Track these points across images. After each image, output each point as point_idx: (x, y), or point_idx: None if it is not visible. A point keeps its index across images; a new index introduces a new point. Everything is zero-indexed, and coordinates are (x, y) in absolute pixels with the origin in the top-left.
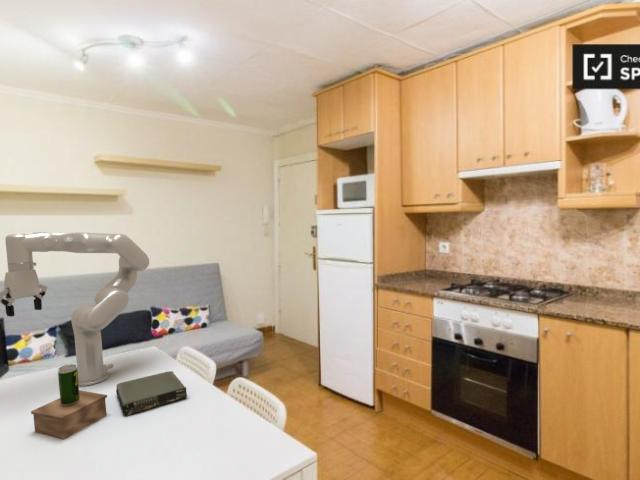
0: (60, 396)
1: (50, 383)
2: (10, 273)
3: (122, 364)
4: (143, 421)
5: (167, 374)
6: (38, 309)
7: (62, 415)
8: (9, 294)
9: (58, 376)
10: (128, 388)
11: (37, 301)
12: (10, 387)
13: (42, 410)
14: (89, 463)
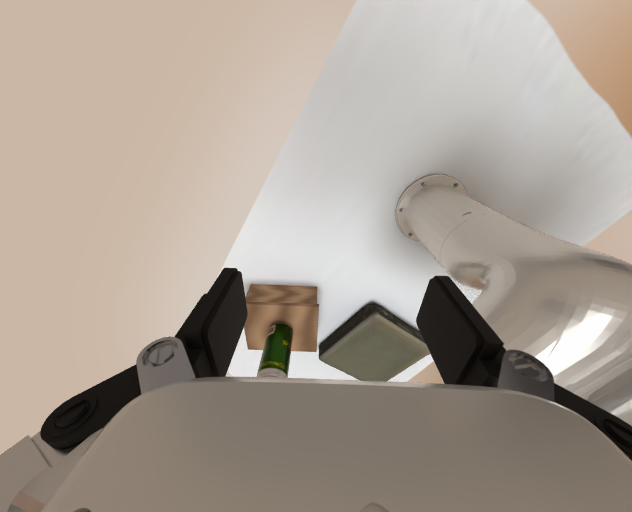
0: (266, 338)
1: (406, 120)
2: None
3: (525, 203)
4: (316, 365)
5: (416, 354)
6: (419, 314)
7: (252, 346)
8: (166, 478)
9: (259, 366)
10: (360, 339)
11: (450, 366)
12: (369, 3)
13: (249, 315)
14: (242, 368)
